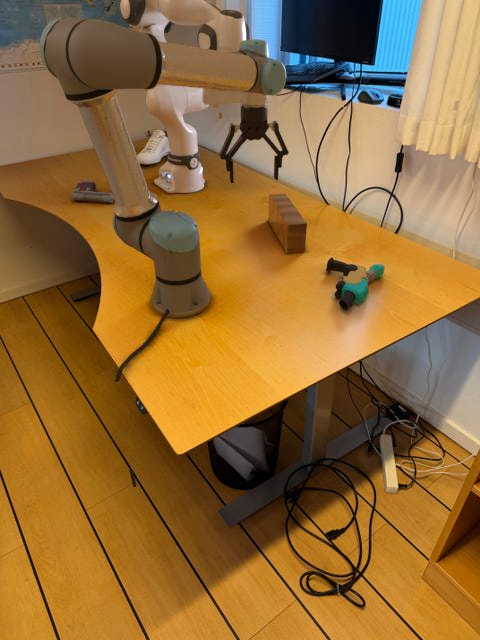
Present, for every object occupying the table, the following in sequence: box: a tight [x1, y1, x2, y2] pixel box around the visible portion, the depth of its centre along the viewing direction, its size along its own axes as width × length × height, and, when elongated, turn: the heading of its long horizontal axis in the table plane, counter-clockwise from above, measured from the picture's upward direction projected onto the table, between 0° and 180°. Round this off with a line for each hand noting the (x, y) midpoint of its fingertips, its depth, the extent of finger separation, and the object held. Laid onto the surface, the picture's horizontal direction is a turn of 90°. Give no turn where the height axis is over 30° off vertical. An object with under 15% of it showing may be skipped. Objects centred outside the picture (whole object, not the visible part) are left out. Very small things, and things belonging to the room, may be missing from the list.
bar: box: [268, 193, 308, 254], centre depth 154 cm, size 25×6×10 cm, turn 11°
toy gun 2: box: [325, 257, 386, 312], centre depth 129 cm, size 4×26×15 cm
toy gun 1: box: [69, 180, 115, 204], centre depth 185 cm, size 4×19×15 cm
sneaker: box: [136, 129, 170, 166], centre depth 220 cm, size 10×29×12 cm, turn 163°
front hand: (254, 180), depth 144 cm, fingers open, 13 cm apart
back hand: (233, 117), depth 159 cm, fingers open, 8 cm apart
